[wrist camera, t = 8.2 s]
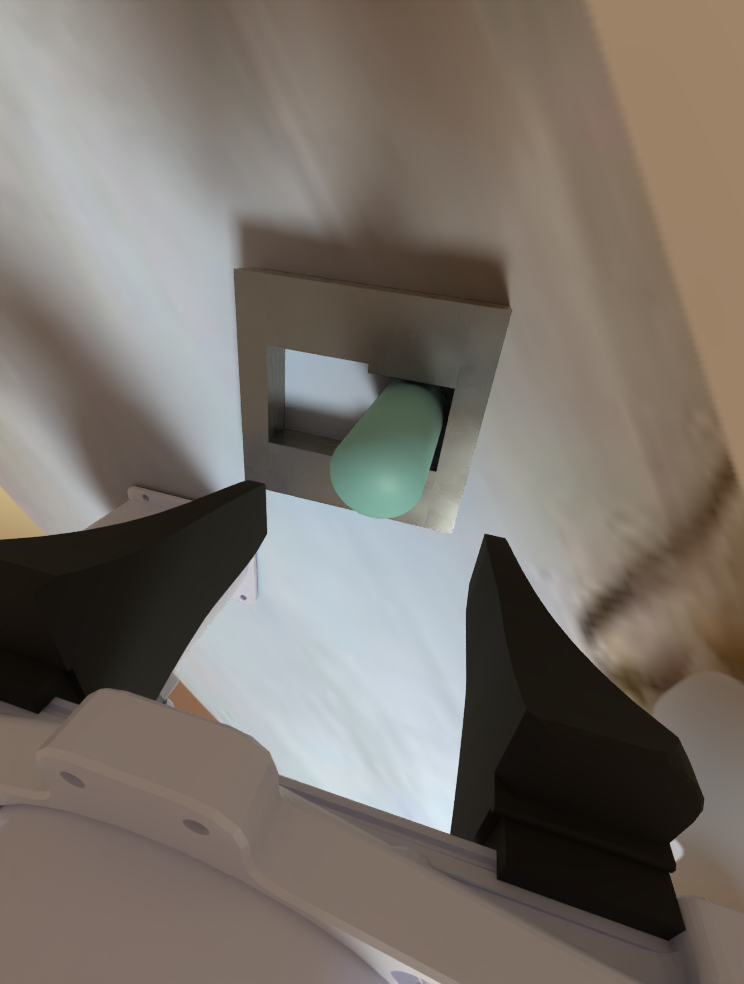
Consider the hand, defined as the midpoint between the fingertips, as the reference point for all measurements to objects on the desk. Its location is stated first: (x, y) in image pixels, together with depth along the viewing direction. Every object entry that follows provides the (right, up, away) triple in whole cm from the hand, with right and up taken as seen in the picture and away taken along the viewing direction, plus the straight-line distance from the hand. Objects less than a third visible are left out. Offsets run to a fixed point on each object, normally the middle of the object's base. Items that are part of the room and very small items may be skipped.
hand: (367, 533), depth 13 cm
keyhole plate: (0, +6, +8) cm, 10 cm away
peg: (+2, +6, +8) cm, 10 cm away
